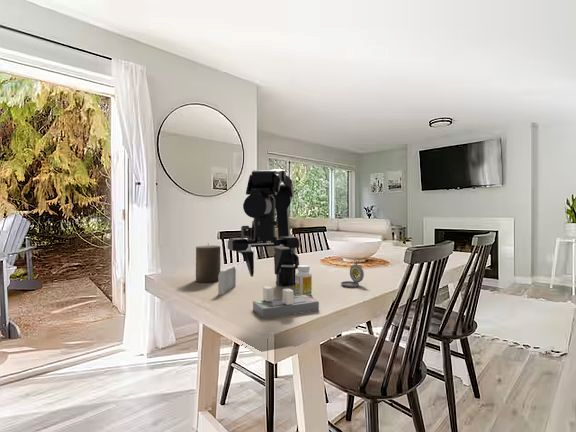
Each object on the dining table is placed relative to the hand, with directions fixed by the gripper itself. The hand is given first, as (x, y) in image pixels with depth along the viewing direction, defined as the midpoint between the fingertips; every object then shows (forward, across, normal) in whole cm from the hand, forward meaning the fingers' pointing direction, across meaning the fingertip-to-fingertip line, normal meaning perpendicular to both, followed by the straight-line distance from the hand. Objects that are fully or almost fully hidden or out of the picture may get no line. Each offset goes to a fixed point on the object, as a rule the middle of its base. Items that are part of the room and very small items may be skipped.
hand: (264, 275), depth 87 cm
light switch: (+11, +2, -32) cm, 34 cm away
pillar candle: (+11, +5, -50) cm, 52 cm away
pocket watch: (+11, -43, -20) cm, 49 cm away
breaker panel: (+11, -8, -2) cm, 14 cm away
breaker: (+8, -3, -5) cm, 10 cm away
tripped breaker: (+8, -7, 0) cm, 11 cm away
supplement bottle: (+11, -20, -16) cm, 28 cm away
